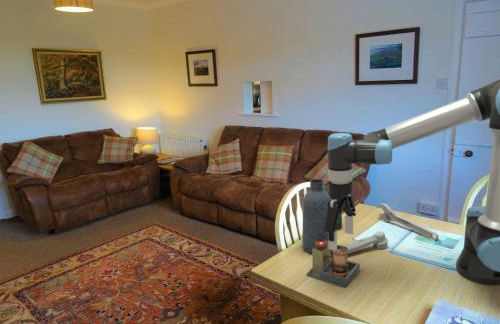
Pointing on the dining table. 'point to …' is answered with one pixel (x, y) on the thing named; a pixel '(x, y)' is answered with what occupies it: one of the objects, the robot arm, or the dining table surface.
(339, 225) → the coffee jar
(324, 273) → the fitting base
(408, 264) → the dining table surface
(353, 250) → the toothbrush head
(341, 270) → the cylinder
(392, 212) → the wrench
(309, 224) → the vase
